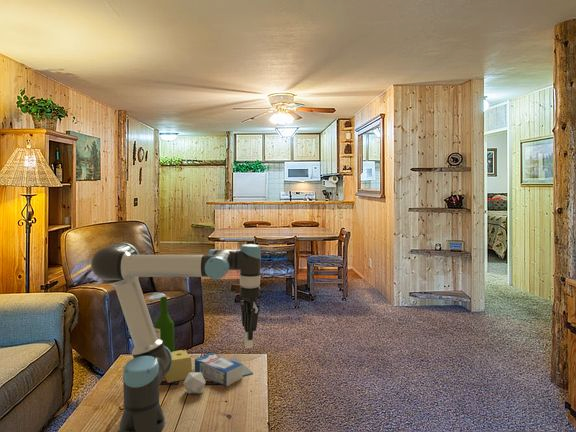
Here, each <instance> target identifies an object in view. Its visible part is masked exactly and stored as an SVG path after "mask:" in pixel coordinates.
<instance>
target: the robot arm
mask: <svg viewBox="0 0 576 432" xmlns="http://www.w3.org/2000/svg"><path fill="white" fill-rule="evenodd" d="M261 251H262V249H261V246H260V245H258V244H254V243H247V244H245V243H244V244H241V245H240V248H239V249H223V248H220V249H219V248H216V249H215V248H214V249H213V248H212V249H209V250H208V252H207V254H140V252H139V250H138V249H137V247H135V246H134V245H132V244H130V243H128V242H115V243H113V244H110V245H108V246H104V247H101V248H100V249H98V250H97V251H96V252H95V253H94V254H93V256H92V258H91V262H90V266H91V269H92V272H93V274H94V275H95V276H96V277H97V278H100V279H101V280H105V281H108V285H111V286H112V287H114V289H115V292H116V295H117V298H118V301H119V304H120V307H121V310H122V313H123V316H124V319H125V323H126V325H127V329H128V332H129V334H130V337H131V340H132V341H131V342H132V343H133V346H134V347H133V349H132V351H131V354H132V359H130V360H129V361H127V362H126V363H125V365H124V366H123V370H122V383H123V384H122V386H123V411H122V415H121V417H120V422H119V426H118V427H119V430H118V431H119V432H161V431H162V430H164V427H165V425H166V418H165V417H166V416H165V415H164V411H163V410H162V406H161V404H160V385H161V383H162V381H163V380H164V378H166V377H165V375H166V374H167V373H168V371H169V370H170V367H171V364H172V355H171V352H170V350H169V349H168V348H167V347H165V346H164V344H163V341H162V340H161V339H158V338H157V336H156V333H155V329H154V326H155V325H154V324H153V321H152V318H151V315H150V312H149V309H148V305H147V302H146V299H145V295H144V293H143V290H142V287H141V284H140V281H139V278H142V277H143V278H145V277H146V278H147V277H149V278H150V277H151V278H153V277H154V278H155V277H156V278H158V277H159V278H163V277H165V278H173V277H175V278H176V277H177V278H179V277H180V278H183V277H184V278H185V277H186V278H188V277H189V278H193V277H194V278H196V277H197V278H200V277H201V278H203V277H205V278H210V279H212V280H220V279H222V278H223V277H225V276H226V275H228V272H229V271H240V272H239V296H240V297H241V298H242V300H239V304H240V310H241V313H240V314H241V324H242V327H243V329H244V348H245V349H251V348H253V347H254V332H256V331H257V326H258V321H259V314H260V311H261V308H260V307H257V304H258V303H257V298H259V297H260V295H261V287H260V285H261V278H262V277H261V267H262V265H261V264H262V261H261V260H262V256H261V255H262V252H261Z"/></svg>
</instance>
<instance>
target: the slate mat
mask: <svg viewBox="0 0 576 432" xmlns="http://www.w3.org/2000/svg"><path fill="white" fill-rule="evenodd" d="M228 359H229V360H232V361H235V362H237V363H240V364H242V365H243V371H242V377H246V376H250V375H253V374H254V373H253V371H252V370H251V369H250V368H248V367H247V366H246V365H245V364H244V363H242V362H241V361H240V360H239V359H238V358H237V357H231V358H228ZM212 382H213V383H214V384H217V381H214V380H212Z"/></svg>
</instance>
